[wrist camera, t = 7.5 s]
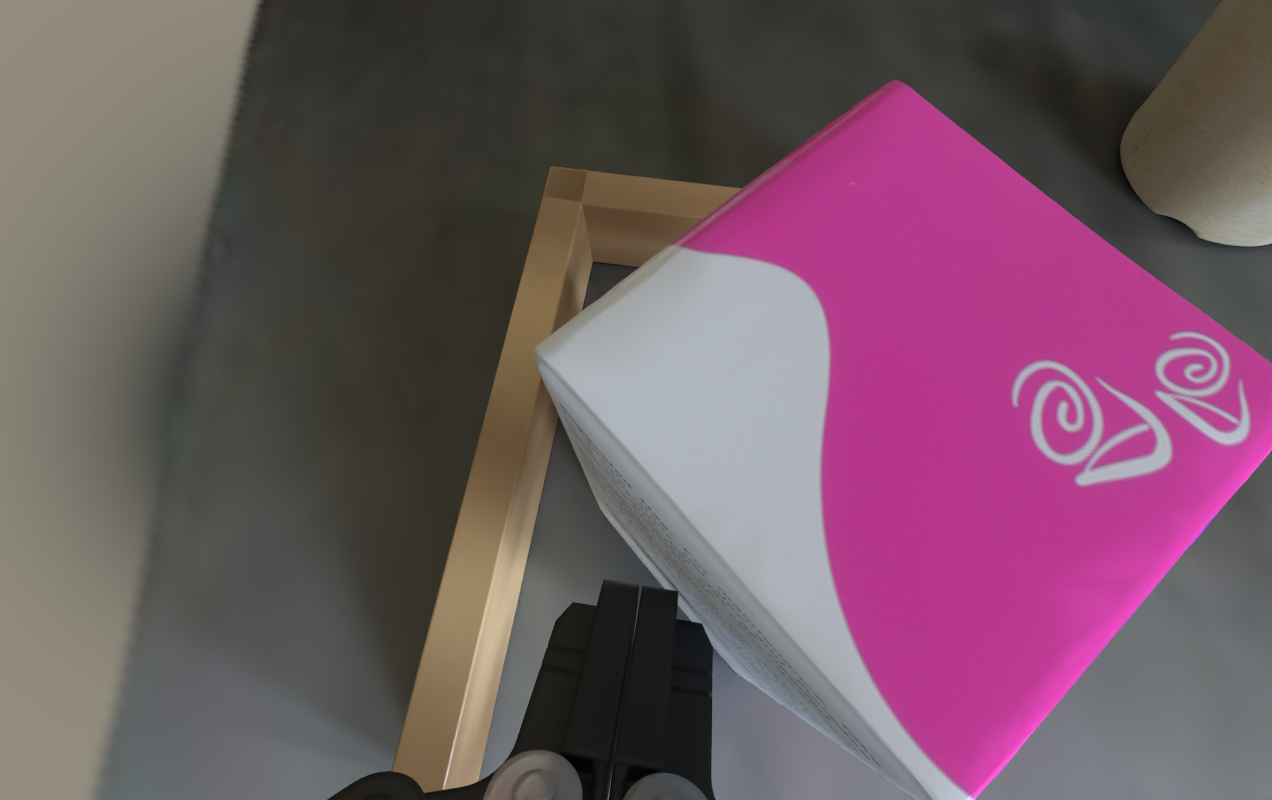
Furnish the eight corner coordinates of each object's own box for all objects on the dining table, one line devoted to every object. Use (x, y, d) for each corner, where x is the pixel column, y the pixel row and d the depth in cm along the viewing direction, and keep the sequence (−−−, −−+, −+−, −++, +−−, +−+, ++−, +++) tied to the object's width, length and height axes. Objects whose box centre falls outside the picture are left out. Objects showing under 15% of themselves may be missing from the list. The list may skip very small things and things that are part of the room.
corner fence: (565, 227, 20) (550, 165, 17) (889, 267, 19) (930, 208, 16) (430, 781, 15) (376, 823, 12) (872, 873, 14) (927, 941, 11)
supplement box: (741, 684, 15) (952, 865, 4) (597, 509, 17) (493, 328, 6) (894, 535, 16) (1357, 390, 6) (745, 384, 18) (879, 45, 7)
